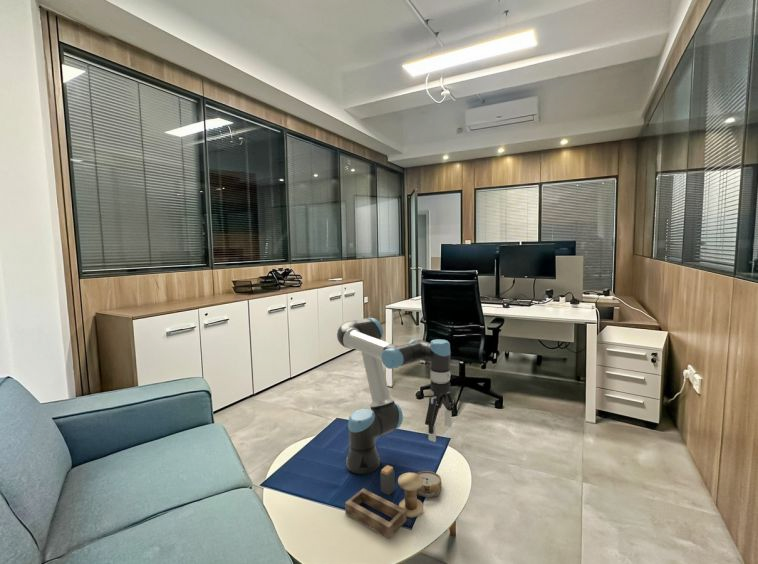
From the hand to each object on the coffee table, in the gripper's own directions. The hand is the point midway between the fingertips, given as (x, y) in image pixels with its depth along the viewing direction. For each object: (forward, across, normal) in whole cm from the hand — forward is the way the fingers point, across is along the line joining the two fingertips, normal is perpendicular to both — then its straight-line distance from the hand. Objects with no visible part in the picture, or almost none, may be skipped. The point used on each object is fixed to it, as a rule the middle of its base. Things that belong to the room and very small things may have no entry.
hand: (440, 432), depth 141 cm
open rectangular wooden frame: (+23, -27, +12) cm, 38 cm away
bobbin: (+23, -16, +4) cm, 28 cm away
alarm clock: (+24, -3, +4) cm, 24 cm away
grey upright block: (+24, -12, +17) cm, 32 cm away
